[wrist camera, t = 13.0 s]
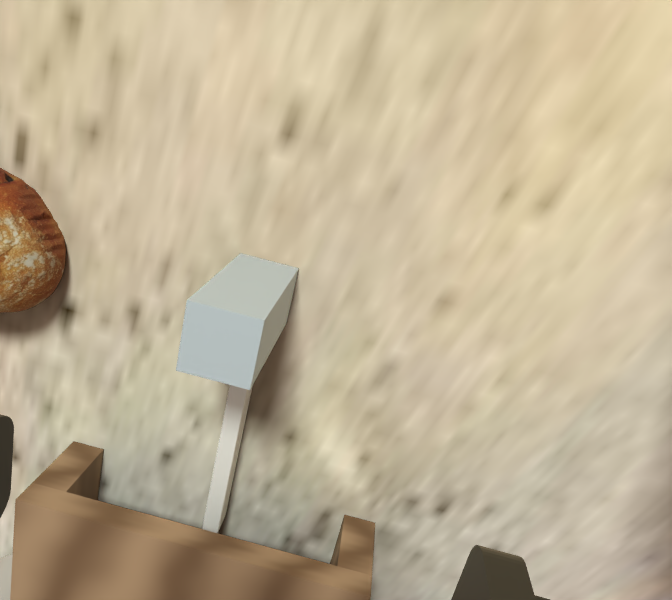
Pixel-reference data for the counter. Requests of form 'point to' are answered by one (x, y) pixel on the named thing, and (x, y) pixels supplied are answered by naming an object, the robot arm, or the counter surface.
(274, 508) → the counter surface
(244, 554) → the riser
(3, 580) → the can
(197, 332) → the mallet tool
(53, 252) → the bread roll
